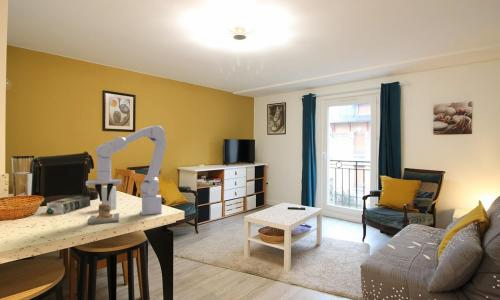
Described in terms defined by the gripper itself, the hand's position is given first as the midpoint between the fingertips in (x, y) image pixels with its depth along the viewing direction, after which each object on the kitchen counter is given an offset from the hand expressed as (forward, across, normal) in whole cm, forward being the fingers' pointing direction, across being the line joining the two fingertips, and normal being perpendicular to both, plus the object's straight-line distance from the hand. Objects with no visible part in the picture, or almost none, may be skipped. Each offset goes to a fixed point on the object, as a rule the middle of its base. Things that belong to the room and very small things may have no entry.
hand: (104, 200), depth 130 cm
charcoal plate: (+9, 0, 0) cm, 9 cm away
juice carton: (+10, +18, -28) cm, 35 cm away
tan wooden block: (+8, 0, 0) cm, 8 cm away
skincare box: (+9, -1, -22) cm, 24 cm away
